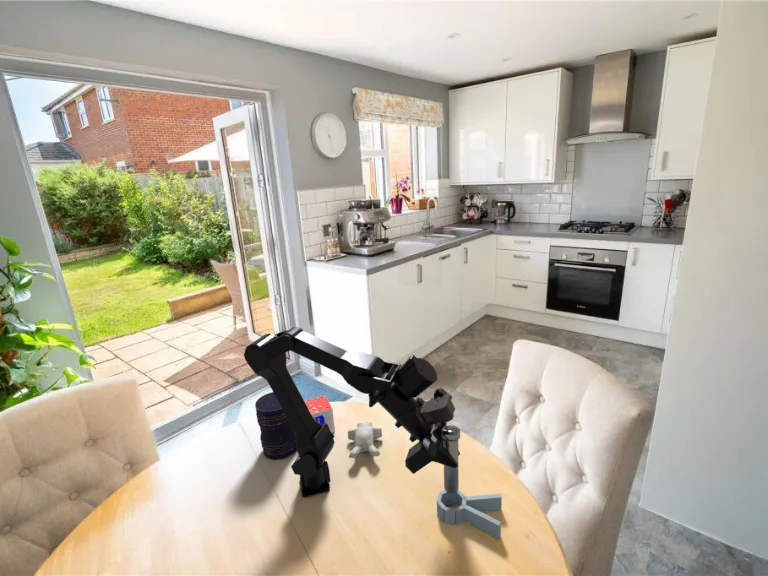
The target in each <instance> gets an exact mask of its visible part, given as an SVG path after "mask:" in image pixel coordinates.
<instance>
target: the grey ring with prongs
mask: <svg viewBox="0 0 768 576" xmlns="http://www.w3.org/2000/svg"><path fill="white" fill-rule="evenodd" d="M502 499H503V497H502V495H501V493H490V494H482V495H481V494H480V495H479V494H478V495H467V496H466V495H465V494H464V493H463V492H462V491H461V490H459V489H458V491H457V492H456V493H448V492H446V491H445V489H443V490H441V491H439V492H438V494H437V500H436V514H437V517H439V519H440V520H441V522H442V523H444V524H445V525H451V526H459V525H460V524H462V523H463V522H465V523H466V524H468V525H469V526H471V527H474V528H476V529H478V530H479V531H482V532H483V533H485V534H487V535H488V536H490V537H493V538H495V539H496V540H498V541H499V540H500V538H501V536H502V535H501V534H502V521H500V520H498V519H496V518H494V517H492V516H489V515H488V514H486V512H487V513H491V512H499V511H502V506H503V505H502V503H503V502H502ZM449 505H451V506H452V505H453V506H456V508H452V507H448V506H449Z"/></svg>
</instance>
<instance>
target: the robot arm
mask: <svg viewBox="0 0 768 576" xmlns="http://www.w3.org/2000/svg"><path fill="white" fill-rule="evenodd" d="M288 352H293V353H295V354H297V355H299V356H301V357H304V358H306V359H308V360H309V361H312V362H314V363H316V364H318V365H321V366H323V367H324V368H327V369H329V370H331V371H333V372H336V373H337V374H339V375H340V376H341V377H342V378H343V379H344V381H345V382H346V383H347V385H349V386H350V387H352V388H353V389H355V390H356V391H358V392H360V393H361V394H365V395H368V400H369V401H368V407H369V408H373V407H374V406H376V404H379V405H380V406H381V407H382V408H383V409H384V410H385V411H386V412H387V413H388V414H389V415H390V416H391V417H392V418H393V419H395V421H396V422H395V424H394V426H395V427H396V428H397V429H399V428H401V427H403V429H404V430H406V431H407V433H409V434H410V437H409V438H408V440H409V441H410V442H412V443H414V442H416V441H418V442H416V443H415V444H414V445H413V446H411V447H410V448H409V449H408V452H407V455H406V457H405V464H404V465H405V467H406V468H407V469H408V471H410V473H412V474H413V475H414V474H416V473H417V472H419V471H420V470H422V469H423V468H424V467H426V466H427V465H429V464H430V463H432V462H434V463H437V464H439V465H443V466H444V465H446V466H449V467H452V468H456V467H459V462H458V463H457V462H456V461H455V459H454V458H453V457H452V456H451V455H450V453H449V452H448V451H447V450H446V449H445V448H444V444H443V438H442V436H441V429H442V428H443V427H444V426H447V425H448V422H451V421H453V419H454V417H455V416H454V414H455V411H456V407H455V405H454V403H453V401H452V399H453V395H452V394H449V392H448V391H446V390H445V389H444V388H443V387H438V388H436V389H434V392H433V397H430V399H429V400H428V401H425V400H424V399H423V398H421V397H420V396H419V395H421V394H422V393H423V392H425V391H426V390H427V389H428V388H429V387H431V386H432V385H433V384H435V383H436V382H437V381H438V373H437V371H436V369H435V368H434V366H433V365H432V364H431V363H430V362H429V361H428V360H425V359H423V358H421V357H417V356H416V355H414V354H411V355H410V356H409V357H408V358H407V359H406V361H404V363H402V364H401V363H397V362H392V361H388V360H385V359H382V358H381V357H379V356H376V355H373V354H369V353H366V352H352V351H348V350H346V349H345V348H341V347H339V346H337V345H335V344H334V343H333V344H332V343H331V342H329V341H325V340H324V339H322V338H319V337H317V336H315V335H313V334H311V333H309V332H306V331H304V329H303V328H301V327H298V326H294V327H291V328H290V329H286V330H282V331H280V332H278V333H275V334H273V333H265V334H263V335H262V336H260V337H259V338H257V339H255V340H254V341H253V342H251V343H250V344H249V345H246V347H245V349H244V352H243V357H244V359H245V362H246V363H247V365H248V366H249V367H250V368H251V370H252V371H253V373H254V374H256V375H257V376H259V377H261V378H262V379H265V380H266V381H267V383H268V385H269V387H270V388H271V391H272V392H273V393H274V394H275V396H276V398H277V400H278V402H279V403H280V405H281V407H282V409H283V411H284V413H285V414H286V416H287V418H288V420H289V422H290V423H291V425H292V427H293V429H294V431H295V433H296V449H297V451H296V452H297V454H298V456H297V458H296V459H295V461H294V462H293V464H291V465H290V468H291V470H292V472H293V474H294V475H297V476H299V483H300V489H301V496H302V498H308V497H311V496H314V495H317V494H321V493H325V492H328V491H330V490H331V489H330V488H331V487H330V482H331V474H330V467H329V464H328V461H327V460H326V459H327V458H328V456H329V455H330V453H331V451H332V450H333V448H334V445H335V439H334V438H335V434H334V433H333V432H331V431H330V429H329V426H328V424H327V423H325V424H323V425H322V424H320V423H318V422H316V421H315V420H314V418H313V417H312V415H311V413H310V411H309V409H308V407H307V405H306V404H305V402H304V401H305V400H304V398H303V396H302V395H301V393H300V391H299V389H298V387H297V385H296V383H295V381H294V379H293V377H292V376H291V374H290V372H289V370H288V368H287V353H288ZM460 455H461V452H460V451H459V449H458V457H459V456H460Z"/></svg>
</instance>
